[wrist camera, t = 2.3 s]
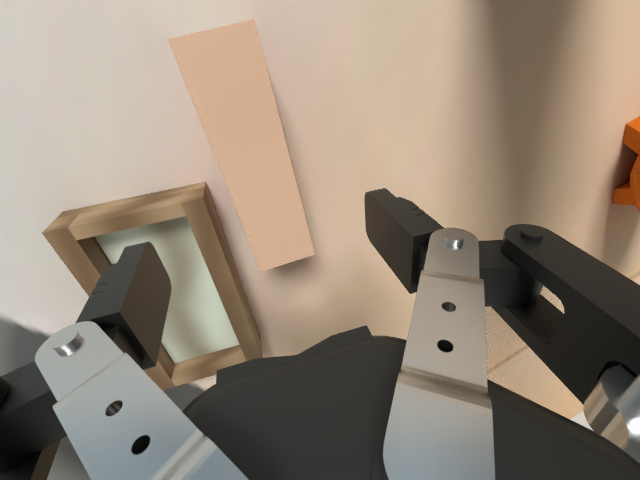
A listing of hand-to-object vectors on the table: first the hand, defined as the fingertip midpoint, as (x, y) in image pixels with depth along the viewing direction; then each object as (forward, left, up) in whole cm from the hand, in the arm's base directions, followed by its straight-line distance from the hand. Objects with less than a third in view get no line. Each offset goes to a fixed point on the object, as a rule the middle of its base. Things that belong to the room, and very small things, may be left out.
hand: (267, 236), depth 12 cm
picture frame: (+9, +11, -13) cm, 19 cm away
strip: (0, 0, -14) cm, 14 cm away
